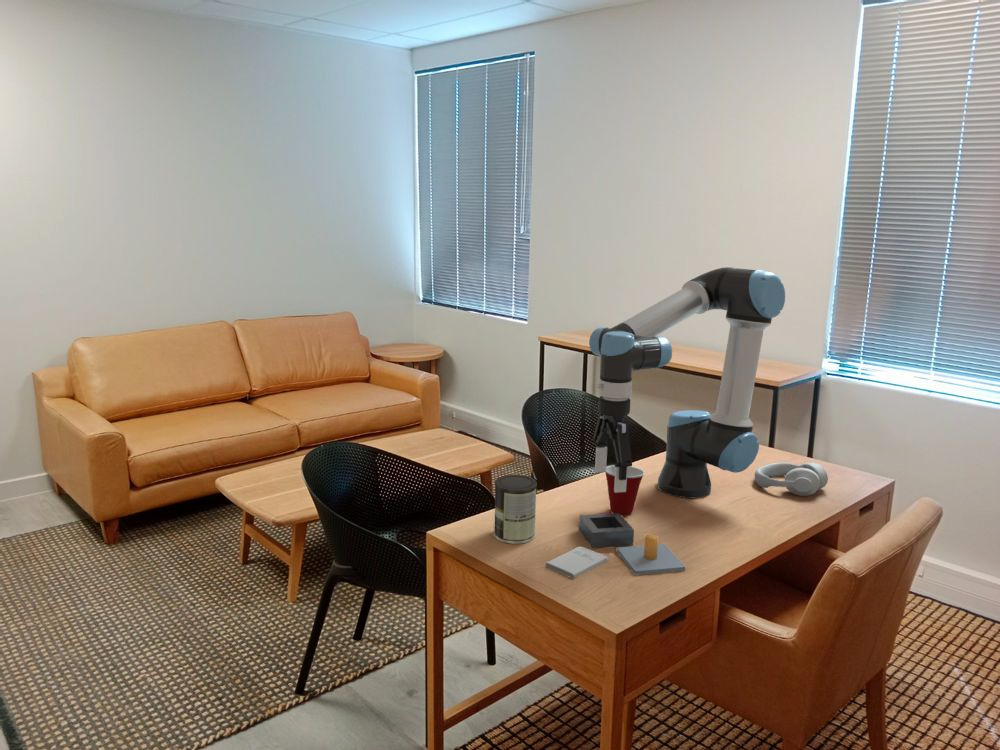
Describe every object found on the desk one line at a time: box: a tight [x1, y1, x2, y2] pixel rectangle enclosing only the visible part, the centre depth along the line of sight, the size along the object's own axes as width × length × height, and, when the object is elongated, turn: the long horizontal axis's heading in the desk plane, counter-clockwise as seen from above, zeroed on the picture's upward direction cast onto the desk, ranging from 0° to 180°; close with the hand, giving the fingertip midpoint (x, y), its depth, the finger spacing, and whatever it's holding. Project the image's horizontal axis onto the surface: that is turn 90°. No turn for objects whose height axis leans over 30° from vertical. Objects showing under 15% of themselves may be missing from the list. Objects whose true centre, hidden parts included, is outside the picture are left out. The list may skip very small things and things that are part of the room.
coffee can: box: [493, 474, 538, 545], centre depth 192 cm, size 10×10×14 cm
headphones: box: [754, 461, 829, 497], centre depth 230 cm, size 18×8×20 cm
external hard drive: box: [545, 546, 608, 580], centre depth 180 cm, size 2×8×12 cm
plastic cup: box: [604, 464, 646, 517], centre depth 209 cm, size 11×11×12 cm
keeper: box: [616, 534, 686, 576], centre depth 181 cm, size 12×12×6 cm
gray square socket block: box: [578, 512, 635, 549], centre depth 193 cm, size 10×10×4 cm
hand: (609, 481), depth 190 cm, fingers open, 13 cm apart
